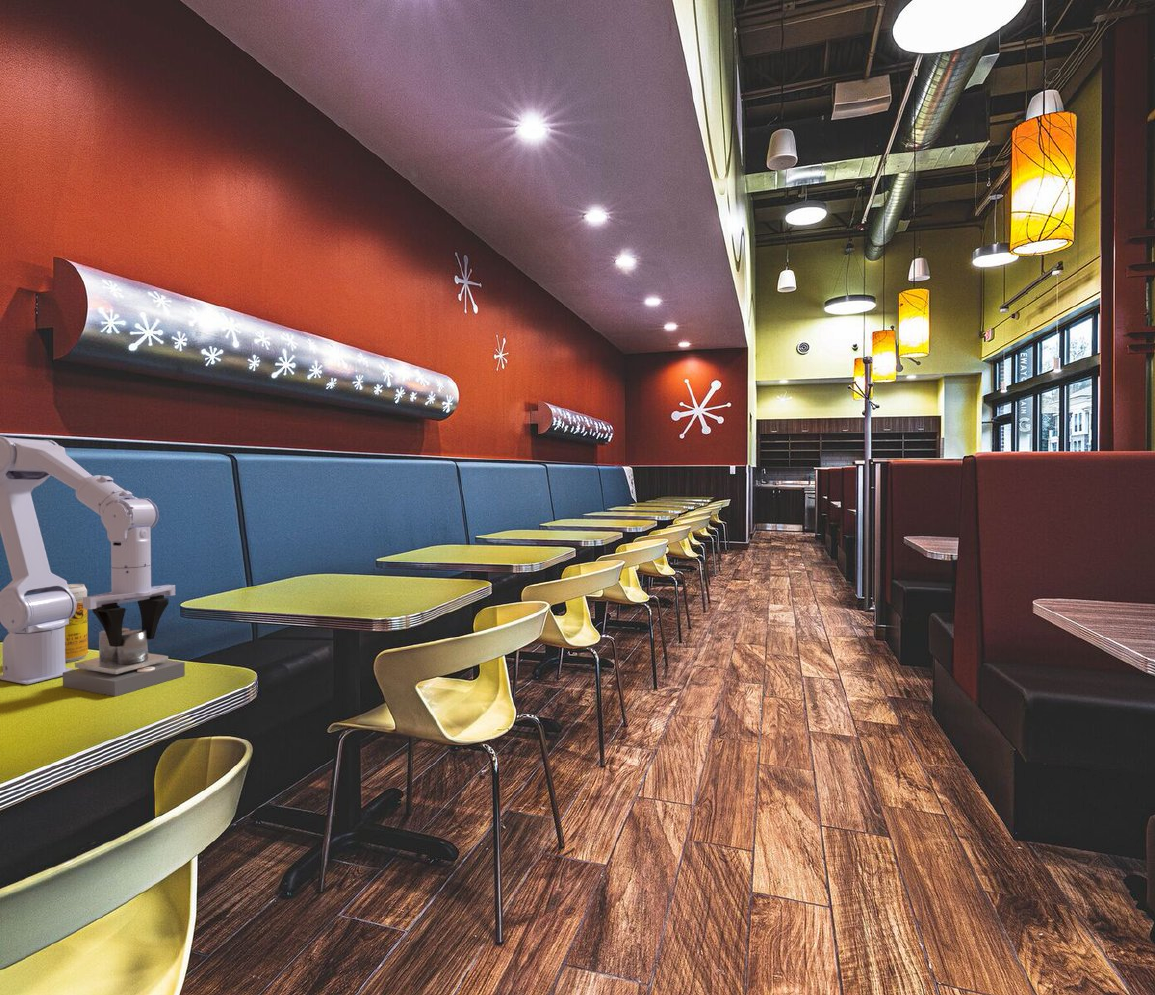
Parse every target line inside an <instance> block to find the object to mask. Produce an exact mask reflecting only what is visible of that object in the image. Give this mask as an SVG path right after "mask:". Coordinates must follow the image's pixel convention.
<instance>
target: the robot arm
mask: <svg viewBox="0 0 1155 995" xmlns="http://www.w3.org/2000/svg"><path fill="white" fill-rule="evenodd" d="M50 476H52V477H54V478H55V479H56V480H58V481H59V482H62V483H63V484H64V485H67V486H68V487H70V488H71V489H73V490H75V497H76V499H77V500H78V502H80V503H81V504H83V505H85V507H87V508H89V509H90V510H91V511H93V513H94V512H95V513H96V514H97V515H98V516H100V519H101V523H102V525H103V527H104V528H105V530H106V532H107V533H106V537H107V539H108V541H109V542H110V557H111V558H110V559H111V560H110V561H111V562H110V564H111V566H110V567H111V568H110V570H111V572H110V573H111V574H110V576H111V581H110V582H111V584H110V586H111V591H109V592H105V593H104V592H103V593H99V594H94V595H90V596H88V595H87V597H83V609H87V610H92V613H93V614H94V615H95V617H96V618H97V619H98V621H99V622H100V624H101V626H102V628H103V631H104V630H105V632H106V635H107V638H108V641H109V645H110V646H113V647H119V646H121V644H122V628H123V623H124V617H125V614H126V611H127V608H125V607H121V606H120V605H121V604H126V603H132V602H136V603H137V604H138V608H139V612H140V618H141V630H146V635H147V640H154V638H155V635H156V631H157V628H158V626H159V625H158V624H159V621H160V619H161V617H162V615H163V613H164V611H165V610H166V608H167V606H168V605H169V598H166V597H167V596H168V597H171V596H176V585H175V584H164V585H154V586H152V546H151V543H152V542H151V539H152V537H151V535H152V534H151V530H152V529H154V527H155V526H156V525H157V522H158V521H159V514H160V513H159V509H158V506H157V505H156V503H154V501H152V500H151V499H150V498H148V497H140V498H138V497H136V496H134V495H133V492H131V491H129V490H125V489H124V488H122V487H120V486H119V485H118V484H117V483H115V482H114V478H113V477H111V476H109V475H101V474H100V475H99V474H97V475H96V474H95V475H92V474H91V473H89V472H88V471H87V470H85V468H83V467H82V466H81V465H80V464H78V462H76V461H75V460H73V458H71V457H70V456H69V455H68V454H67V453H66V448H65V447H63V446H61V445H59V444H58V443H57V442H55V441H54V440H52V439H33V438H32V439H29V438H18V437H17V438H16V437H6V436H2V435H0V536H1V539H2V543H3V548H4V551H5V552H4V553H5V555H6V559H7V563H8V567H9V572H10V575H11V579H12V580H11V581H10V582H9V583H8V584H7V585H6V586H5V587H4V588H2V589H1V591H0V623H1V625H2V626H3V627H4V628H5V629H6V630H7V632H8V634H7V635H6V636H5V638H4V639H3V641H2V645H1V646H2V647H1V648H2V674H1V675H0V680H2V681H7V682H12V683H17V684H23V685H31V684H35V683H38V682H43V681H47V680H50V679H51V680H52V679H56V678H58V677H63V672H67V671H71V670H75V669H76V668H69V667H66V663H65V625H68V624H69V619H71V618H72V617H73V616H74V614H75V612H76V608H77V603H76V599H75V597H74V595H73V594H72V592H71V591H70V590H69V588H68V585H67V584H68V581H67V580H66V579H64V578H62V577H61V576H58V575H56V574H54V573H52V571H51V567H50V564H49V560H48V555H47V552H46V549H45V544H44V540H43V537H42V532H41V528H40V525H39V520H38V517H37V514H36V510H35V506H34V501H33V497H32V492H33V491H34V489H35V488H36V487H39V486H41V485H42V484H43V483H44V482H46V480H47V479H48V478H50Z"/></svg>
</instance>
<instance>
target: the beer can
mask: <svg viewBox="0 0 1155 995" xmlns="http://www.w3.org/2000/svg"><path fill="white" fill-rule="evenodd" d="M67 585H68V588H69V590H70V591H71V592H72V594H73V595H74V597H75V599H76V603H77V608H76V612H75V614H74V616H73V617H72V618H71V619H69V624H68V625H65V664H67V663H72V662H77V661H78V662H79V661H82V660H83V659H85V658H86V656H87V655H88V653H89V641H88V640H89V637H88V632H89V631H88V629H89V627H88V623H89V622H88V609H83V597H88V589H87V588H86V585H85V584H84V583H70V584H69V583H67Z"/></svg>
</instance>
